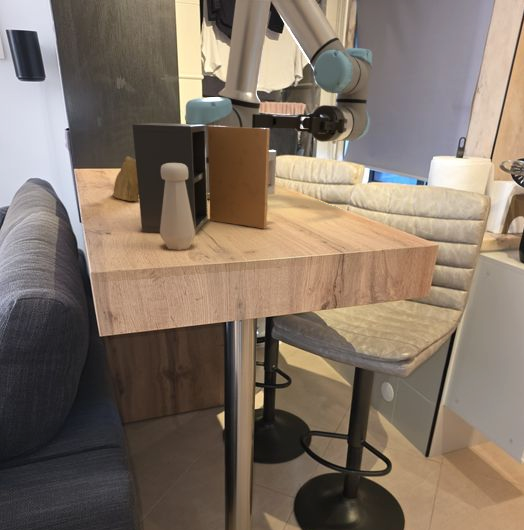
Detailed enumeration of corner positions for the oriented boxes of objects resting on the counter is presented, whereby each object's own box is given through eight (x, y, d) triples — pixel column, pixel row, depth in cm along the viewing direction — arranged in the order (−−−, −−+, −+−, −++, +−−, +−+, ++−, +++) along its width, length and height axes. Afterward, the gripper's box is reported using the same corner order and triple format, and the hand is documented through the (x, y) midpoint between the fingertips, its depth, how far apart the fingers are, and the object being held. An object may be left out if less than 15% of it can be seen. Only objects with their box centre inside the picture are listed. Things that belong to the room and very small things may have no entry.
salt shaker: (165, 252, 73) (158, 165, 67) (157, 243, 77) (151, 161, 71) (200, 249, 75) (197, 165, 69) (190, 241, 80) (187, 161, 74)
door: (227, 214, 100) (227, 125, 92) (279, 222, 95) (284, 128, 86) (209, 219, 95) (207, 125, 87) (264, 228, 89) (267, 128, 81)
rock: (148, 193, 110) (154, 181, 118) (122, 162, 105) (130, 152, 113) (116, 219, 113) (123, 206, 121) (89, 190, 108) (99, 179, 116)
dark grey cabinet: (207, 220, 95) (205, 124, 87) (195, 234, 84) (190, 126, 76) (161, 217, 96) (154, 122, 88) (142, 232, 84) (132, 124, 76)
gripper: (377, 145, 102) (334, 148, 87) (284, 137, 114) (232, 139, 99) (383, 107, 99) (339, 104, 83) (286, 103, 111) (232, 100, 95)
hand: (280, 123), depth 91 cm, fingers open, 13 cm apart
